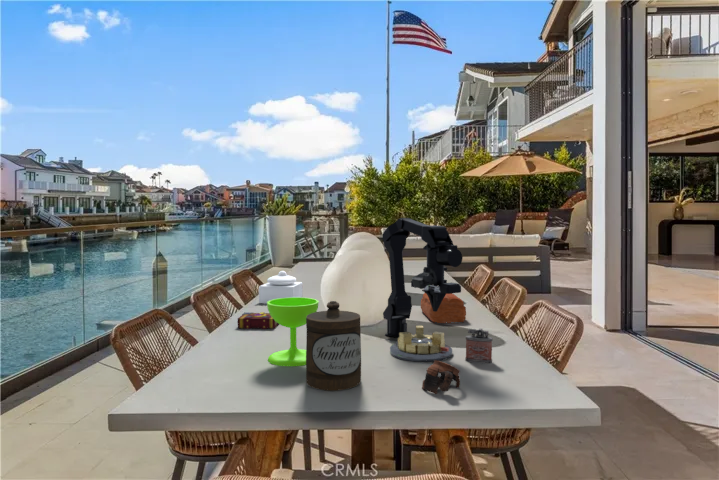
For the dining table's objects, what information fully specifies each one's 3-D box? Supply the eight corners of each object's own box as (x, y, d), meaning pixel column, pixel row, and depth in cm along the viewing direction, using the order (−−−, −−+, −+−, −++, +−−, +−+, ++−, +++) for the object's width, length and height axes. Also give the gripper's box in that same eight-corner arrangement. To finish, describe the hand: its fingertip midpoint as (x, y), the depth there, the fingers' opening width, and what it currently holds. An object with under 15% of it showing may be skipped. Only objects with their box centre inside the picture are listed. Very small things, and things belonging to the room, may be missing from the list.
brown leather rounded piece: (414, 386, 138) (425, 357, 140) (445, 400, 139) (456, 371, 141) (430, 390, 126) (442, 358, 129) (464, 405, 127) (475, 373, 130)
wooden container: (316, 394, 130) (316, 308, 129) (299, 377, 144) (298, 298, 143) (370, 386, 136) (370, 303, 135) (348, 370, 150) (348, 295, 149)
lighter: (492, 361, 159) (493, 328, 159) (491, 364, 156) (492, 331, 155) (466, 358, 162) (466, 326, 161) (464, 361, 159) (465, 329, 158)
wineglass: (277, 369, 151) (276, 308, 150) (261, 355, 165) (260, 299, 164) (327, 361, 158) (327, 303, 157) (307, 349, 172) (307, 295, 171)
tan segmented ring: (389, 349, 166) (389, 332, 165) (410, 339, 178) (410, 323, 178) (438, 357, 157) (438, 339, 156) (456, 346, 169) (456, 329, 169)
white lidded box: (258, 304, 257) (258, 272, 256) (271, 297, 275) (270, 268, 274) (292, 305, 254) (292, 272, 253) (303, 298, 272) (302, 268, 271)
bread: (452, 310, 240) (452, 288, 239) (468, 323, 213) (468, 297, 212) (419, 311, 239) (419, 288, 238) (431, 324, 212) (431, 298, 211)
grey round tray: (378, 355, 165) (378, 342, 165) (407, 342, 182) (407, 330, 182) (437, 365, 154) (437, 351, 154) (461, 350, 171) (461, 337, 171)
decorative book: (275, 329, 202) (275, 317, 202) (234, 329, 203) (234, 316, 203) (280, 323, 213) (280, 311, 213) (242, 323, 214) (241, 311, 214)
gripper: (398, 263, 173) (398, 309, 174) (435, 268, 158) (435, 319, 158) (424, 261, 179) (423, 306, 180) (462, 266, 164) (462, 315, 165)
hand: (435, 311), depth 171 cm, fingers closed
